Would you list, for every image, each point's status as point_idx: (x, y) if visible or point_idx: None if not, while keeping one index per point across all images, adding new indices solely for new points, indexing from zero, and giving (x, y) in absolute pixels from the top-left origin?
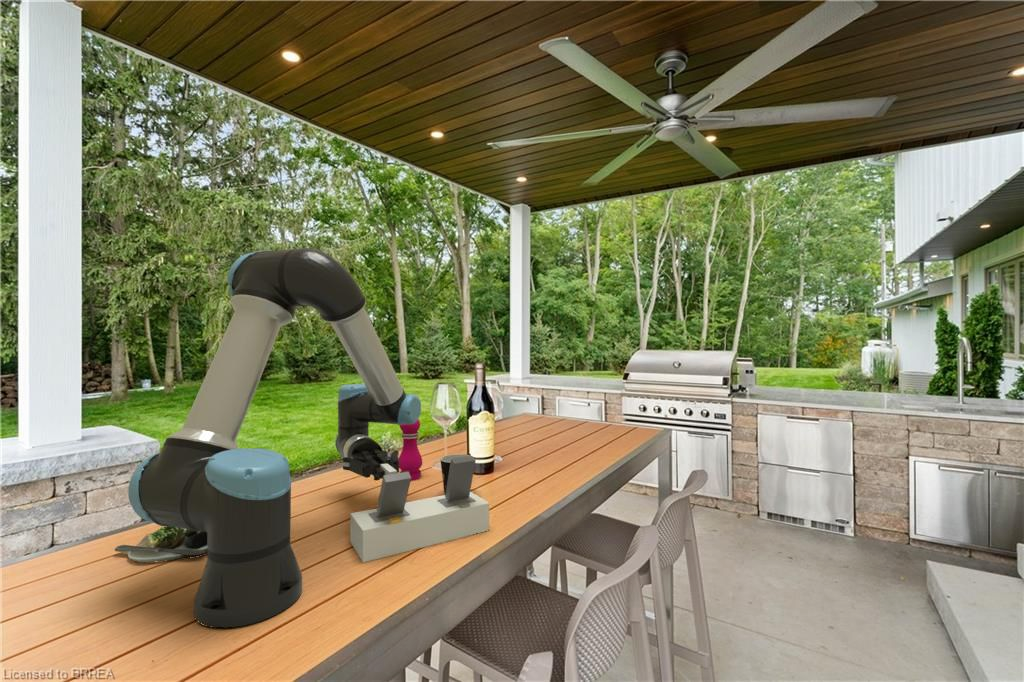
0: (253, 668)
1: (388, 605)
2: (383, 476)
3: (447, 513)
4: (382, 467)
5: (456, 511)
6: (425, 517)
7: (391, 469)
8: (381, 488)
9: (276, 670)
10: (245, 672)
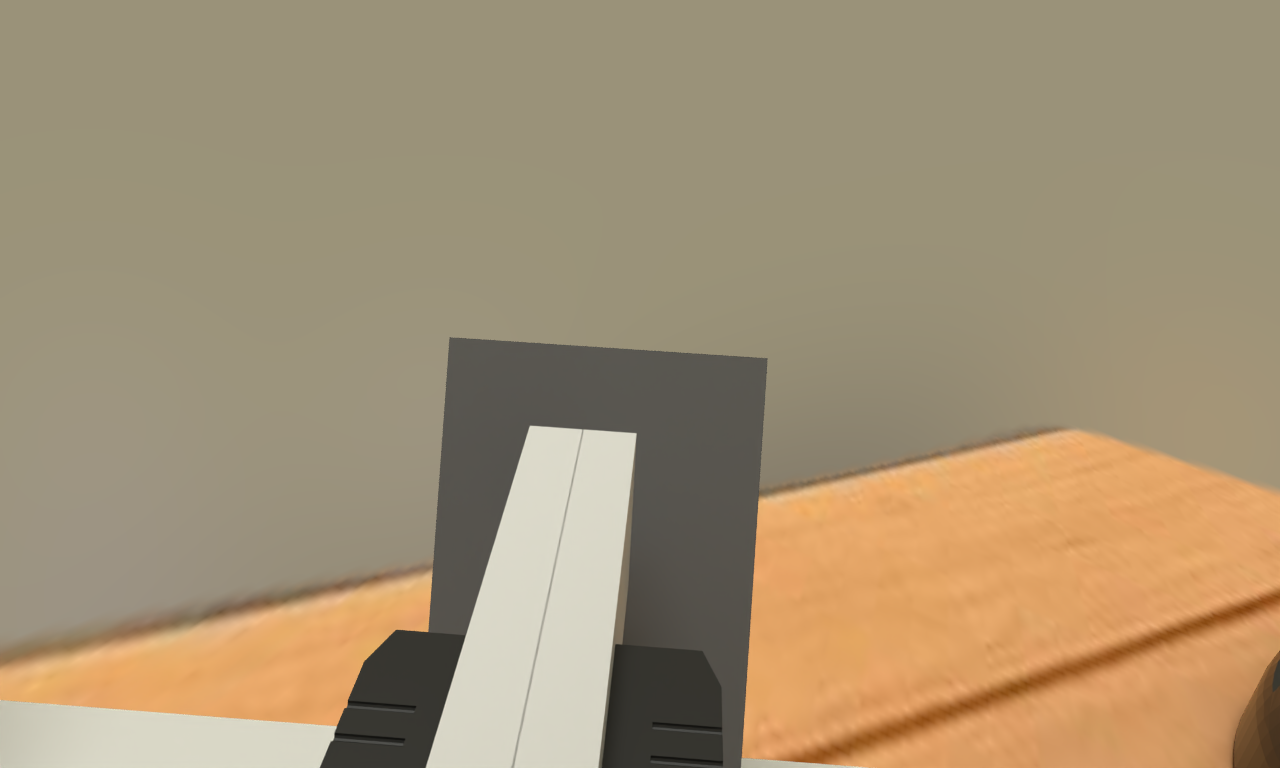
0: (1239, 490)
1: (804, 525)
2: (766, 365)
3: (99, 718)
4: (604, 734)
5: (9, 707)
6: (322, 727)
7: (561, 495)
8: (752, 555)
9: (1161, 460)
10: (1257, 487)
